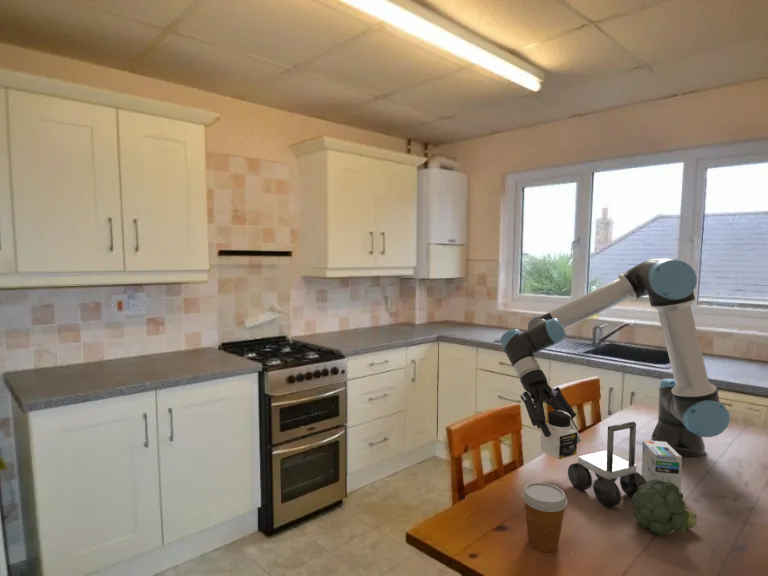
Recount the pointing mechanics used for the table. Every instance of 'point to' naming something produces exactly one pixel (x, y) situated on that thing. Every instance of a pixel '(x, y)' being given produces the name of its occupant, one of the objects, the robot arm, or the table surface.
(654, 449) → the light bulb box
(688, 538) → the table surface
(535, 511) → the disposable coffee cup
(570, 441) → the medicine bottle
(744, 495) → the table surface
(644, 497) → the vegetable
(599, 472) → the trolley
